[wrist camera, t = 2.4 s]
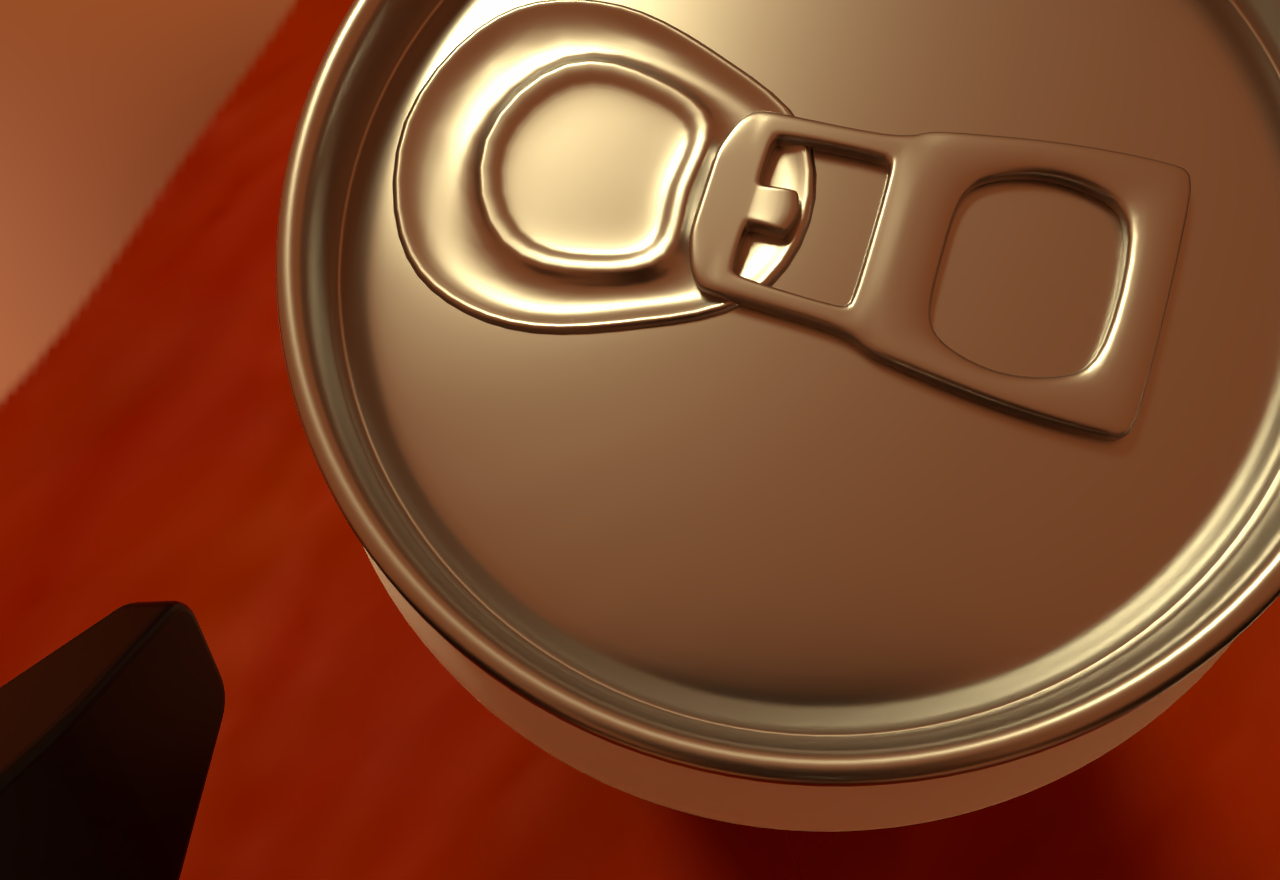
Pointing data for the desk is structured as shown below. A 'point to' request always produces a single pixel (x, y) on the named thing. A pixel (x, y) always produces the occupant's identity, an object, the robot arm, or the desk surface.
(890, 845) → the desk surface
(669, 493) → the can
